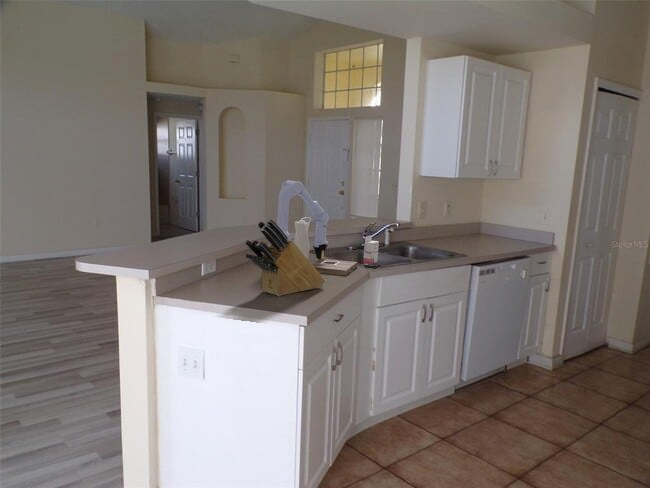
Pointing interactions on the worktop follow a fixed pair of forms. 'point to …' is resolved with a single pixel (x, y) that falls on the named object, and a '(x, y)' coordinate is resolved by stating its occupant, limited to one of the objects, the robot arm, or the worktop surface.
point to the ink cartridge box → (370, 250)
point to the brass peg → (321, 256)
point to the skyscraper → (302, 236)
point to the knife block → (282, 263)
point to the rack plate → (334, 266)
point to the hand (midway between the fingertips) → (320, 258)
